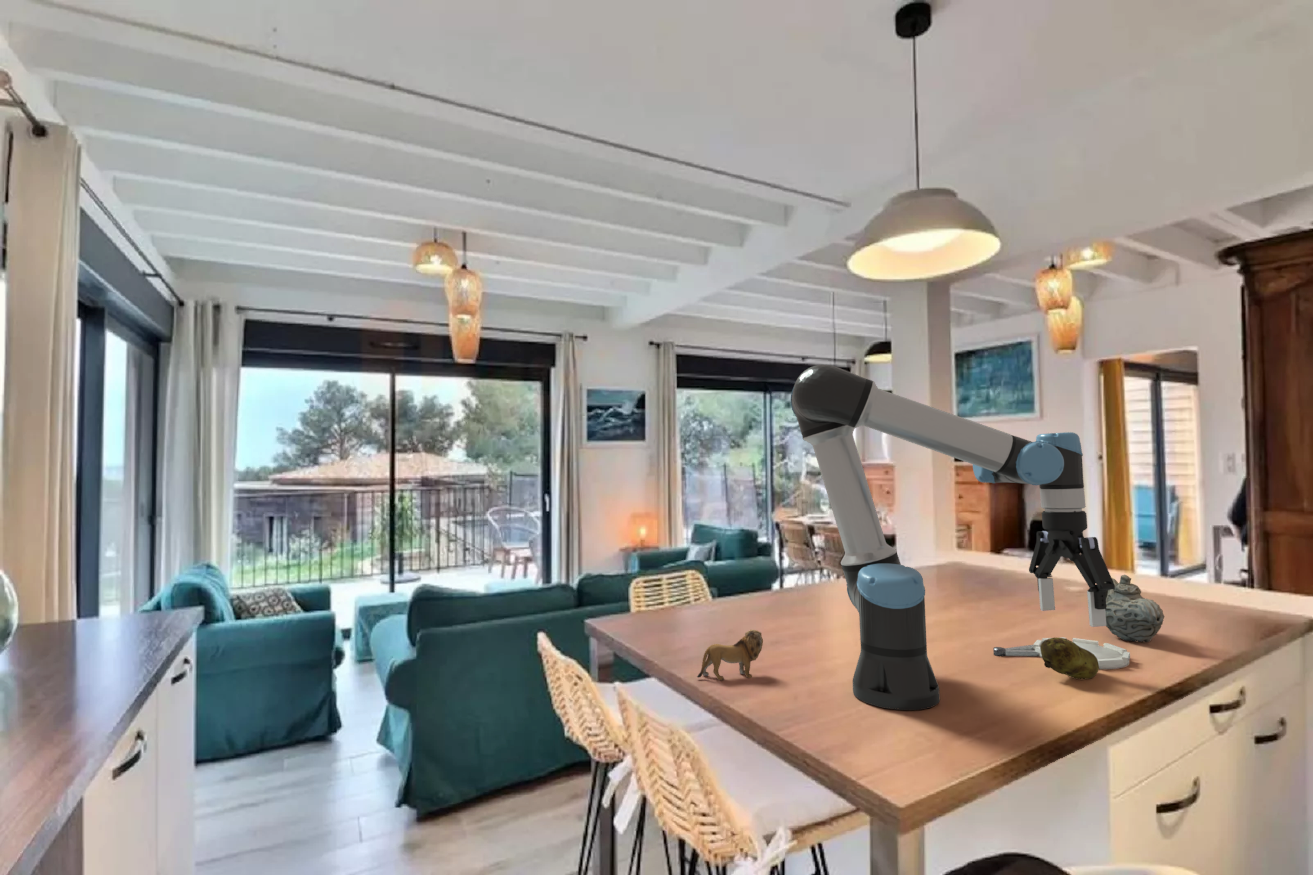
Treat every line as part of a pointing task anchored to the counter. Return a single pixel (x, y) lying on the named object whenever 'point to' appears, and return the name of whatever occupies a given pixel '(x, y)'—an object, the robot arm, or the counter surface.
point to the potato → (1069, 658)
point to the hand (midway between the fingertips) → (1071, 617)
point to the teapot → (1131, 612)
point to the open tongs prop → (1015, 651)
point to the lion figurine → (734, 654)
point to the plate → (1098, 652)
